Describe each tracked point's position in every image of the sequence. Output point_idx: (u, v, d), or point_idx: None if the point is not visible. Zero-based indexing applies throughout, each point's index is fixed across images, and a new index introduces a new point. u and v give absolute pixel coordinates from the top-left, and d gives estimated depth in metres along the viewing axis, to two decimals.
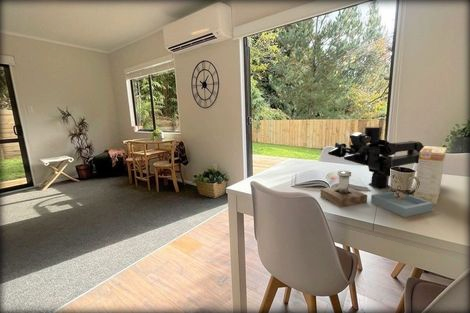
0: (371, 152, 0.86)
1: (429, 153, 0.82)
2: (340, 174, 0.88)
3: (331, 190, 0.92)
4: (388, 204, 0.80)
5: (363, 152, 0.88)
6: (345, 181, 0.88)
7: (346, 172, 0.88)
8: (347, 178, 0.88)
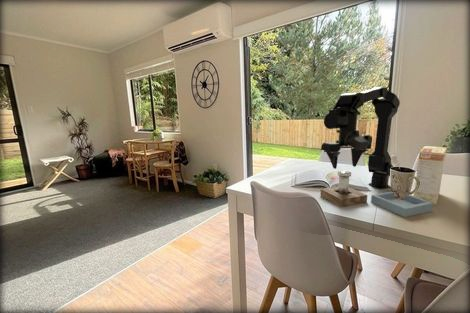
0: None
1: (429, 153, 0.82)
2: (340, 174, 0.88)
3: (331, 190, 0.92)
4: (388, 204, 0.80)
5: None
6: (345, 181, 0.88)
7: (346, 172, 0.88)
8: (347, 178, 0.88)
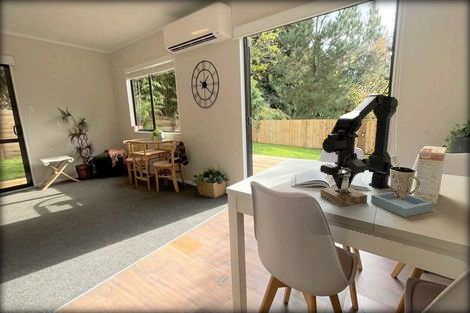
0: None
1: (429, 153, 0.82)
2: None
3: (331, 190, 0.92)
4: (388, 204, 0.80)
5: None
6: (345, 181, 0.88)
7: (346, 172, 0.88)
8: (347, 178, 0.88)
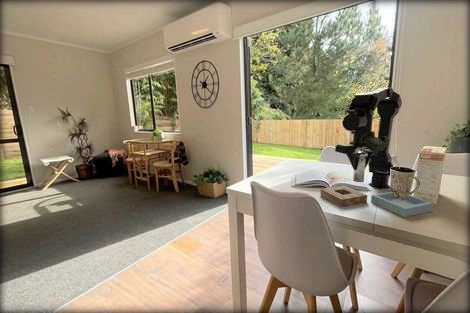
0: None
1: (429, 153, 0.82)
2: None
3: (331, 190, 0.92)
4: (388, 204, 0.80)
5: None
6: (362, 161, 0.84)
7: (362, 152, 0.84)
8: (364, 158, 0.84)
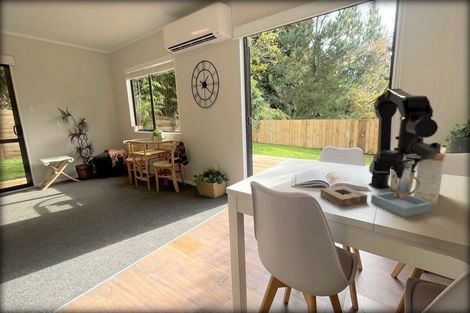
0: None
1: None
2: None
3: (331, 190, 0.92)
4: (388, 204, 0.80)
5: None
6: (408, 169, 0.78)
7: (408, 159, 0.79)
8: (410, 166, 0.78)
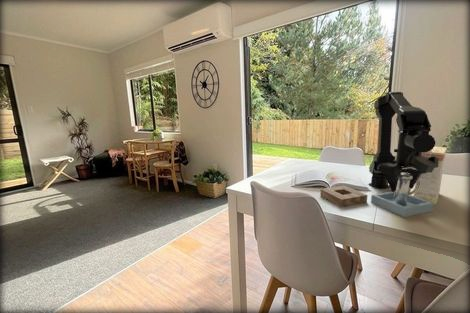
0: None
1: (429, 153, 0.82)
2: (400, 177, 0.79)
3: (331, 190, 0.92)
4: (388, 204, 0.80)
5: None
6: (406, 184, 0.79)
7: (407, 174, 0.80)
8: (408, 181, 0.79)
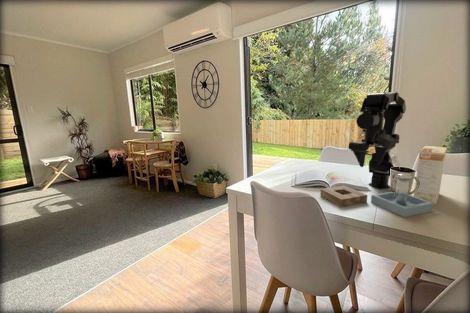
0: None
1: (429, 153, 0.82)
2: (400, 177, 0.79)
3: (331, 190, 0.92)
4: (388, 204, 0.80)
5: None
6: (406, 184, 0.79)
7: (406, 174, 0.80)
8: (408, 181, 0.79)
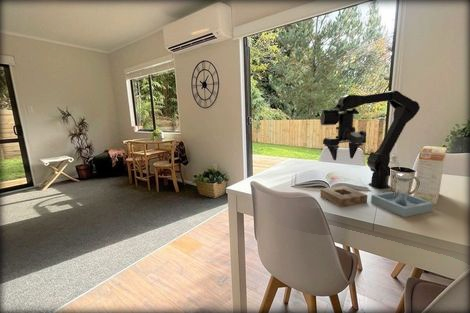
0: None
1: (429, 153, 0.82)
2: (400, 177, 0.79)
3: (331, 190, 0.92)
4: (388, 204, 0.80)
5: None
6: (406, 184, 0.79)
7: (406, 174, 0.80)
8: (408, 181, 0.79)
